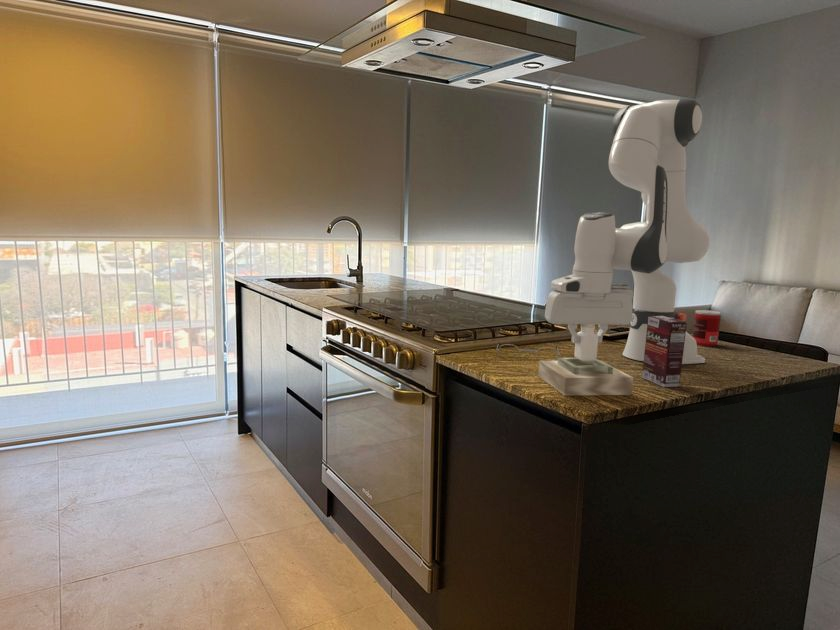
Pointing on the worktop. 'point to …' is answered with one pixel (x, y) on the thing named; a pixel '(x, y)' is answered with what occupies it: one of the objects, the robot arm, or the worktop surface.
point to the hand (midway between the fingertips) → (586, 342)
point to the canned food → (706, 327)
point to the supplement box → (664, 350)
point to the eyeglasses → (530, 350)
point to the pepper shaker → (587, 343)
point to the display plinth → (585, 377)
